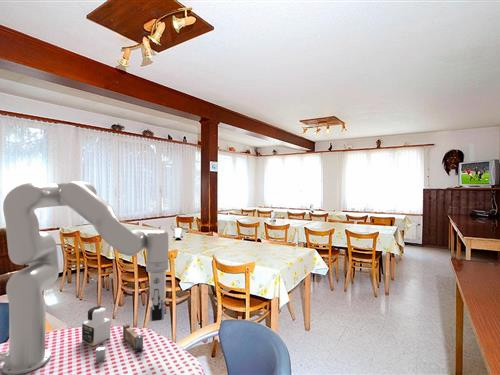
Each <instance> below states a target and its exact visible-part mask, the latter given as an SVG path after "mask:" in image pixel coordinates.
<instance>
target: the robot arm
mask: <svg viewBox="0 0 500 375" xmlns="http://www.w3.org/2000/svg"><path fill="white" fill-rule="evenodd" d="M51 207H52V208H53V207H68V208H70V209H71V210H72V211H74V212H75V213H77V215H79V216H80V217H82V218H83V219H84V220H85V221H86V222H88V223H89V224H90V225H92V226H93V228H94V230H95V231H96V232H97V233H98V235H99V236H100V237H101V239H102V240H103V241H105V243H106V244H108V246H111V247H112V248H113V249H114V250H115V251H117V252H118V253H120V254H121V255H124V256H127V257H130V256H131V257H133V256H135V255H137V254H139V253H140V252H141V251H143V250H145V251H146V253H145V254H146V257H145V258H146V260H145V264H146V266H145V267H146V268H145V270H146V272H147V273H149V297H150V298H149V299H150V301H151V302H153V307H152V321H151V322H156V321H157V320H159V321H162V320H161V319H162V308H161V301H165V300H166V294H167V284H166V282H167V276H166V274H167V273H166V271H168V270H169V232H168V231H167V230H163V229H154V230H147V229H133V230H130V229H128V228H127V227H126V226H125V225H123V224H122V223H121V221H119V220H118V218H117V217H116V215H115V211H114V209H113V206H112V205H111V204H109V203H108V202H106V201H105V200H104V199H103V198H101V197H100V196H99V195H98V194H97V190H96V188H95V187H94V185H92V184H91V183H89V182H86V181H74V180H73V181H70V182H66V183H65V182H60V183H57V182H55V183H49V182H45V183H44V182H28V183H27V182H26V183H23V184H20V185H18V186H16V187H14V188H13V189H11V190H10V191H9V192H8V193H7V194H6V196H5V198H4V199H3V206H2V209H3V210H2V211H3V217H4V221H5V230H6V232H5V233H6V240H7V241H6V242H7V244H6V245H7V250H8V251H7V252H8V257H9V259H10V261H11V262H12V263H13V264H14V265H18V266H24V265H28V266H27V267H24V268H21V269H20V270H18V271H16V272H15V273H14V274H12V275H11V276H10V278H9V279H8V280H7V282H6V286H5V291H6V292H5V293H6V296H7V300H8V311H9V312H8V313H9V314H8V315H9V316H8V318H9V320H8V323H9V326H8V328H9V330H8V331H9V332H8V337H9V338H8V351H5V352H4V351H3V352H0V363H2V362H3V365H2V366H1V367H2V369H1V371H2V373H3V374H4V375H22V374H26V373H29V372H32V371H34V370H37V369H39V368H40V367H42V366H44V365H45V364H46V363H48V362H49V360H51V356H52V354H51V351H50V350H48V349H46V325H47V324H46V320H47V318H46V316H47V314H46V313H47V307H46V299H45V297H44V294H43V293H44V292H43V291H44V290H45V289H47V288H49V287H50V286H51V285H53V284H54V283H55V282H56V281H57V279H58V278H59V273H60V267H59V257H58V247H57V242H56V240H55V238H54V236H52V234H50V233H48V232H46V231H40V227H39V226H40V225H39V218H38V216H37V214H36V212H35V210H36V209H40V208H41V209H42V208H51ZM158 302H159V303H158Z"/></svg>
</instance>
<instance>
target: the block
mask: <svg viewBox="0 0 500 375" xmlns="http://www.w3.org/2000/svg"><path fill="white" fill-rule="evenodd" d="M158 303H159V302H158ZM149 306H150V307H149V310H150V311H149V312H150V313H149V321H150V322H153V321H152V307H153V301H151V303H150V305H149ZM161 308H162V319H161V320H157V321H158V322H159V321H164V320H165V300H162V301H161Z"/></svg>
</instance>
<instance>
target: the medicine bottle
mask: <svg viewBox="0 0 500 375" xmlns="http://www.w3.org/2000/svg"><path fill="white" fill-rule="evenodd" d="M81 325H82V326H81V342H84V343H85V344H88V345H90V346H96V345H98V344H100V343H102V342H104V341H106V340H108V339H110V338H111V319H110V318H107V317H106V307H105V306H101V305H99V306H94V307H91V308H90V309H88V310H87V320H85V321H83V322H82V323H81Z"/></svg>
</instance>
